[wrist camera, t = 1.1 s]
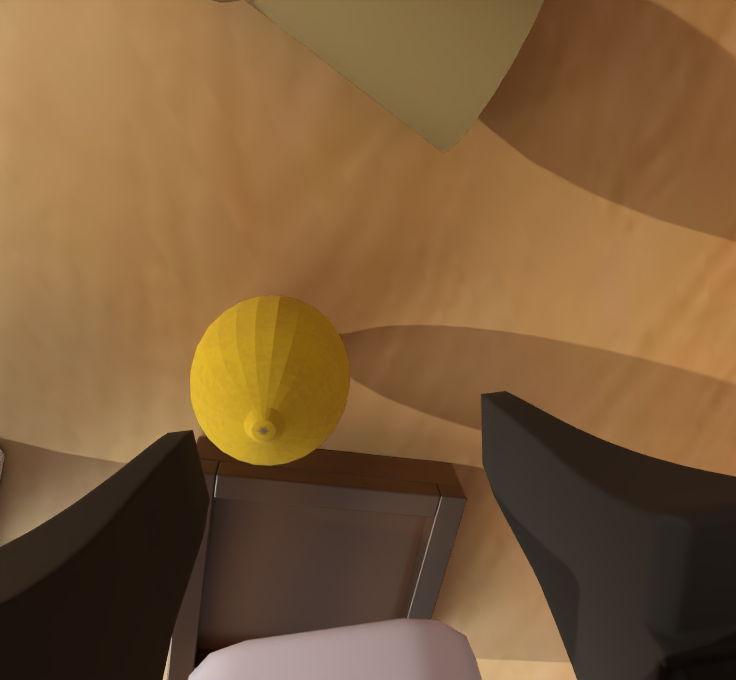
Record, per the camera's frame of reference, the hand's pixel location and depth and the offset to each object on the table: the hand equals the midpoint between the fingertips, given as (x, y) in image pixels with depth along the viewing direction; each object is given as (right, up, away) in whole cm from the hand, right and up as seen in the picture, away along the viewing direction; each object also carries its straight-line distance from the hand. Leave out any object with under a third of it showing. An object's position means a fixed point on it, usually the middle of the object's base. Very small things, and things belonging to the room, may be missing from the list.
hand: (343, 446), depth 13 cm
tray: (-2, -8, +14) cm, 16 cm away
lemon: (-3, +3, +10) cm, 11 cm away
